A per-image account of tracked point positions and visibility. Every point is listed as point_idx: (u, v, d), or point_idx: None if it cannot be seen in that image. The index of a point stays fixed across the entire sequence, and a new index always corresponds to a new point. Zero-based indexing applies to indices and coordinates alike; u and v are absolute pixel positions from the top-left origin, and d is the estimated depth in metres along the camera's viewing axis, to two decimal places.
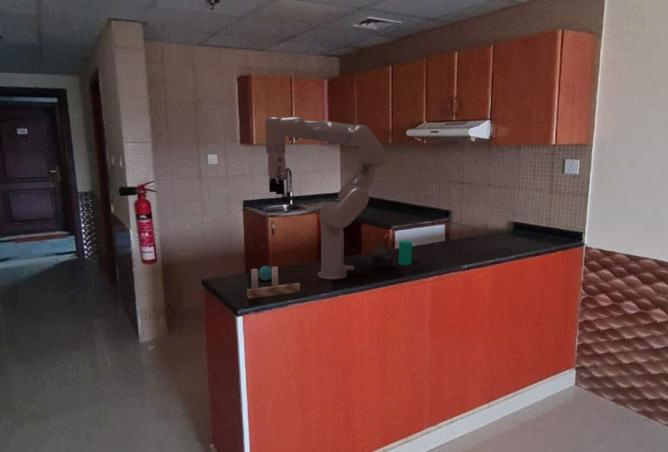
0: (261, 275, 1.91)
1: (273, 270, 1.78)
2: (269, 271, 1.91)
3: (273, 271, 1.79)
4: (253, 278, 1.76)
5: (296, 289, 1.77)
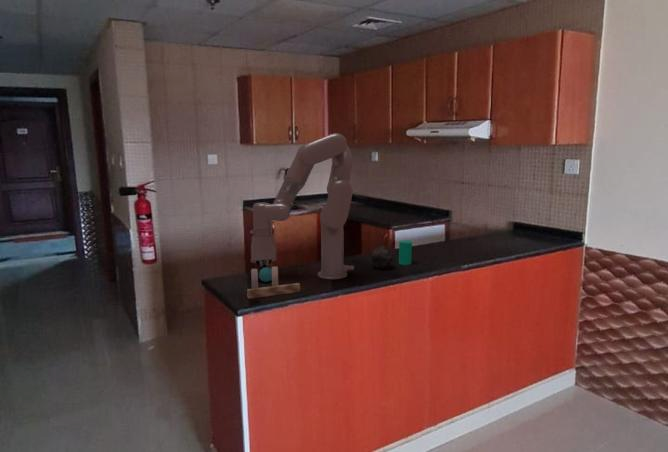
0: (262, 279, 1.89)
1: (273, 270, 1.78)
2: (270, 275, 1.89)
3: (273, 271, 1.79)
4: (253, 278, 1.76)
5: (296, 289, 1.77)
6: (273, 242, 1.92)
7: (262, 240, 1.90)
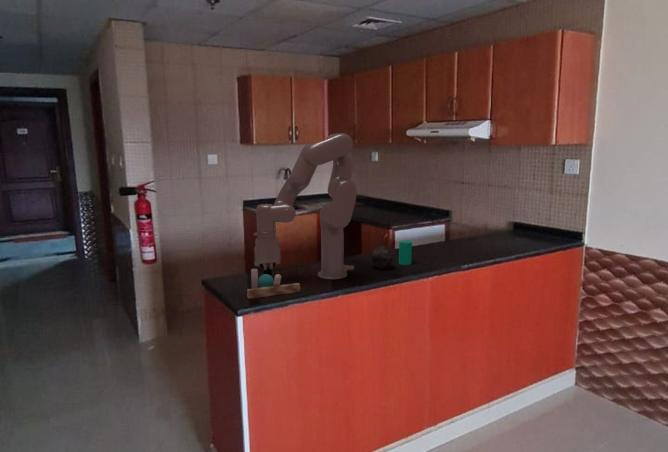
0: None
1: (276, 280, 1.73)
2: None
3: (276, 281, 1.73)
4: (253, 278, 1.76)
5: (296, 289, 1.77)
6: (277, 245, 1.87)
7: (266, 243, 1.85)
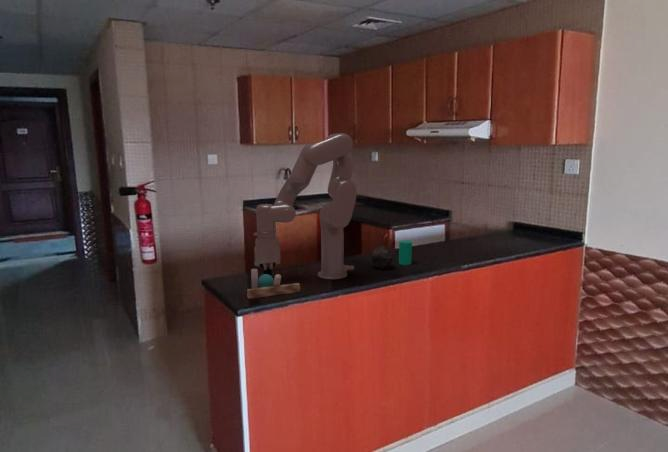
0: None
1: (276, 280, 1.73)
2: None
3: (276, 281, 1.73)
4: (253, 278, 1.76)
5: (296, 289, 1.77)
6: (277, 245, 1.87)
7: (266, 243, 1.85)
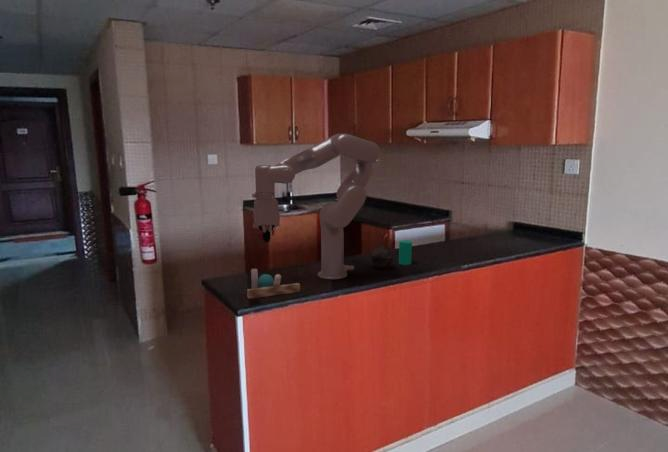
0: None
1: (276, 280, 1.73)
2: None
3: (276, 281, 1.73)
4: (253, 278, 1.76)
5: (296, 289, 1.77)
6: (276, 206, 1.85)
7: (264, 204, 1.82)
